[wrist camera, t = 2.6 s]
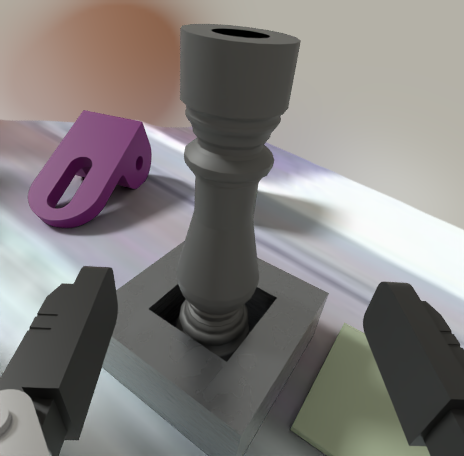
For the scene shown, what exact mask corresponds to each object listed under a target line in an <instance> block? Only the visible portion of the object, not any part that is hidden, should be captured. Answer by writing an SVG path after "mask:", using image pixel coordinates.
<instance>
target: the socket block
mask: <svg viewBox="0 0 464 456" xmlns="http://www.w3.org/2000/svg"><path fill="white" fill-rule="evenodd" d="M184 242H185V241H184ZM184 242H183V243H181V244H180V245H178V246H177V247H176V248H174V249H173V250H172V251H170V252H169V253H167V254H166V255H165V256H163V257H162V258H160V259H159V260H158V261H156V262H155V263H154V264H152V265H151V266H149V267H148V268H147V269H145V270H144V271H143V272H141V273H140V274H138V275H137V276H136V277H134V278H133V279H132V280H130V281H129V282H127V283H126V284H125V285H123V286H122V287H121V288H119V289H118V290H116V294H117V300H118V315H117V321H116V325H115V328H114V331H113V334H112V337H111V340H110V343H109V347H108V350H107V353H106V356H105V359H104V362H103V365H102V368H104V369H105V370H106V371H107V372H108V373H110V374H111V375H112V376H113V377H115V378H116V379H117V380H118V381H119V382H121V383H122V384H123V385H124V386H125V387H127V388H128V389H129V390H130V391H131V392H133V393H134V394H135V395H136V396H137V397H139V398H140V399H141V400H142V401H143V402H145V403H146V404H147V405H148V406H149V407H151V408H152V409H153V410H154V411H155V412H157V413H158V414H159V415H160V416H161V417H163V418H164V419H165V420H166V421H168V422H169V423H170V424H171V425H172V426H174V427H175V428H176V429H177V430H178V431H180V432H181V433H182V434H183V435H184V436H186V437H187V438H188V439H189V440H190V441H192V442H193V443H194V444H195V445H196V446H198V447H199V448H200V449H201V450H202V451H204V452H205V453H206V454H207V455H208V456H243V455H244V453H245V451H246V450H247V448H248V446H249V444H250V443H251V441H252V439H253V438H254V436H255V434H256V432H257V431H258V429H259V427H260V426H261V424H262V422H263V420H264V419H265V417H266V415H267V414H268V412H269V410H270V408H271V407H272V405H273V403H274V402H275V400H276V398H277V396H278V395H279V393H280V391H281V390H282V388H283V386H284V384H285V383H286V381H287V379H288V378H289V376H290V374H291V373H292V371H293V369H294V367H295V366H296V364H297V362H298V361H299V359H300V357H301V355H302V354H303V352H304V350H305V349H306V347H307V345H308V343H309V342H310V340H311V338H312V337H313V334H314V331H315V329H316V326H317V323H318V321H319V318H320V315H321V313H322V310H323V307H324V305H325V302H326V299H327V297H328V294H329V293H327V292H325V291H323V290H321V289H319V288H317V287H315V286H313V285H311V284H309V283H307V282H305V281H303V280H301V279H299V278H297V277H295V276H293V275H291V274H289V273H287V272H285V271H283V270H281V269H279V268H277V267H275V266H273V265H271V264H269V263H267V262H265V261H263V260H261V259H259V258H257V261H258V269H259V282H258V285H257V287H256V289H255V292H254V294H253V295H252V297H251V299H249V300H248V301H247V302H246V303H245V306H246V307H247V310H248V325H249V331H250V333H249V335H248V336H247V337H246V338H245V340H244V341H243V342H242V343H241V345H240V346H239V347H238V349H237V350H236V351H235V352H234V354H233V355H232V356H231V357H230V359H229V360H228V361H227V362H226V361H225V360H223V359H222V358H220V357H219V356H217V355H216V354H214V353H213V352H211V351H210V350H208V349H207V348H205V347H204V346H202V345H201V344H199V343H198V342H196V341H195V340H193V339H192V338H190V337H189V336H187V335H186V334H184V333H183V332H181V331H180V330H178V329H177V320H178V317H179V315H180V308H181V305H182V304H183V302H184V301H185V299H186V298H185V297H184V296H183V294H182V292H181V289H180V287H179V285H178V282H177V267H178V261H179V258H180V255H181V252H182V249H183V246H184Z"/></svg>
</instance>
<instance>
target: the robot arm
mask: <svg viewBox="0 0 464 456" xmlns="http://www.w3.org/2000/svg"><path fill="white" fill-rule="evenodd" d="M37 314H38V315H37V317H35V319H34V320H33V322H32V324H31V326H30V329H29V331H27V333H26V334H25V336H24V338H23V340H22V341H21V343H20V345H19V347H18V348H17V350H16V352H15V354H14V355H13V357H12V359H11V361H10V363H9V364H8V366H7V368H6V370H5V371H4V373H3V375H2V377H1V378H0V456H59V453H60V450H61V447H62V445H63V442H64V440H79V437H80V434H81V431H82V428H83V424H84V421H85V418H86V415H87V412H88V409H89V406H90V403H91V400H92V396H93V393H94V390H95V387H96V384H97V381H98V378H99V375H100V371H101V368H102V365H103V362H104V359H105V356H106V353H107V350H108V347H109V343H110V340H111V337H112V334H113V331H114V328H115V325H116V321H117V315H118V300H117V294H116V287H115V281H114V274H113V270H112V268H109V267H91V266H84V267H82V269H81V270H80V272H79V274H78V276H77V278H76V280H75V282H74V284H61V285H60V286H59V287H58V288H57V289H55V290H54V291H53V292H52V293H51V294H50V295H48V296H47V297H46V299H45V301H44V303H43V304H42V306H41V308H40V310H39V311H38V313H37ZM363 328H364V333H365V336H366V338H367V341H368V343H369V346H370V348H371V351H372V354H373V356H374V359H375V361H376V364H377V366H378V369H379V371H380V374H381V376H382V379H383V381H384V384H385V386H386V389H387V391H388V394H389V396H390V399H391V401H392V404H393V406H394V409H395V411H396V414H397V416H398V419H399V422H400V424H401V427H402V429H403V432H404V434H405V437H406V439H407V442H408V444H409V446H426V447H427V449H428V451H429V454H430V456H464V349H463V348H461V347H460V343H459V342H458V340H457V339H456V337H455V336H454V334H452V333H451V332H452V331H451V329H450V328H449V326H448V325H447V323H446V322H445V320H444V319H443V317H442V316H441V315H440V314H439V313H438V312H437V311H436V310H435V309H434V308H433V307H432V306H431V305H429V304H428V303H427V302H426V301H421V300H420V298H419V297H418V295H417V293H416V292H415V290H414V289H413V287H412V286H411V285H410V284H408V283H398V282H381V283H380V284H379V285H378V287H377V289H376V291H375V293H374V295H373V298H372V300H371V302H370V304H369V306H368V308H367V310H366V312H365V315H364V319H363Z"/></svg>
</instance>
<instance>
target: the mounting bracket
mask: <svg viewBox="0 0 464 456" xmlns="http://www.w3.org/2000/svg"><path fill="white" fill-rule="evenodd" d="M150 166H151V147H150V143H149V140H148V138H147V135H146V132H145V129H144V126H143V123H142V122H141V121H135V120H130V119H125V118H120V117H115V116H110V115H105V114H100V113H95V112H90V111H85V110H84V111H83V112H82V113H81V115H80V116H79V117H78V119H77V120H76V122H75V123H74V125H73V126H72V127H71V129H70V130H69V132H68V133H67V134H66V136H65V137H64V139H63V140H62V142H61V143H60V144H59V146H58V147H57V149H56V150H55V152H54V153H53V154H52V156H51V157H50V159H49V160H48V161H47V163H46V164H45V166H44V167H43V169H42V170H41V171H40V173H39V174H38V176H37V177H36V178H35V180H34V181H33V183H32V185H31V187H30V189H29V193H28V202H29V206H30V208H31V209H32V211H33V212H34V213H35V214H36V215H37V216H38V217H39V218H40V219H41V220H42V221H43V222H45V223H46V224H48V225H51V226H54V227H59V228H74V227H77V226H80V225H83V224H85V223H87V222H89V221H90V220H92V219H93V218H94V217H96V216H97V215H98V214H99V213H100V212H101V210H102V209H103V208H104V206H105V204H106V203H107V201H108V199H109V197H110V195H111V194H112V192H113V190H114V188H115V186H116V185H120V186H124V187H128V188H132V189H137V188H138V187H139V186H140V185H141V184H142V183H143V182H145V180H146V178H147V176H148V173H149V170H150ZM75 175H77V176H81V177H85V179H84V180H83V182H82V184H81V185H80V187H79V189H78V190H77V192H76V193H75V195H74V197H73V198H72V200H71V201H70V203H69V204H68V205H66V206H65V207H62V208H59V209H55V206H56V204H57V203H58V201H59V200H60V198H61V196H62V195H63V193H64V192H65V190H66V189H67V187H68V186H69V184H70V182H71V181H72V179H73V178H74V176H75Z"/></svg>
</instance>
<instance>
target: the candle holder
mask: <svg viewBox="0 0 464 456" xmlns="http://www.w3.org/2000/svg"><path fill="white" fill-rule="evenodd" d="M180 40H181V41H180V44H181V45H180V46H181V48H180V49H181V50H180V51H181V52H180V53H181V54H180V60H181V61H180V100H182V101H183V102H184V103H185V104H186V117H187V118H188V120H189V121H190V122H191V124H192V128H193V132H194V134H195V135H196V136H197V138H196V139H194V140H193V141H192V142H190V143H189V144H188V145H187V146H186V147H185V152H184V160H185V163H186V164H187V166H188V167H189V168H190V170H191V171H193V173H194V174H195V176H196V179H195V208H194V213H193V217H192V220H191V223H190V226H189V230H188V233H187V236H186V239H185V242H184V246H183V249H182V252H181V255H180V258H179V261H178V267H177V282H178V285H179V287H180V289H181V292H182V294H183V296H184V297H185V298H186V299H185V301H184V302H183V304H182V305H181V308H180V315H179V317H178V320H177V329H178V330H180V331H181V332H183V333H184V334H186V335H187V336H189V337H190V338H192V339H193V340H195V341H196V342H198V343H199V344H201V345H202V346H204V347H205V348H207V349H208V350H210V351H211V352H213V353H214V354H216V355H217V356H219V357H220V358H222V359H223V360H225V361H226V362H227V361H228V360H229V359H230V357H231V356H232V355H233V354H234V352H235V351H236V350H237V349H238V347H239V346H240V345H241V343H242V342H243V341H244V340H245V338H246V337H247V336H248V335H249V325H248V310H247V307H246V306H245V303H246V302H247V301H248V300H249V299H251V297H252V295H253V294H254V292H255V289H256V287H257V285H258V282H259V269H258V261H257V252H256V243H255V234H254V225H253V214H254V208H255V202H256V195H257V189H258V183H259V181H260V180H261V178H263V177H265V176H267V174H268V173H269V171H270V170H271V168H272V167H273V163H274V158H273V155H272V152H271V151H270V150H269V149H268V148H267V147H266V146H265V145H264V144H265V142H266V141H267V140H268V139H269V137H270V135H271V133H272V132H273V131H274V129H275V128H276V127H277V126H278V124H279V123H280V120H281V118H280V116H281V115H282V114H284V112H285V111H286V110H287V109H288V105H289V100H290V95H291V89H292V84H293V79H294V74H295V68H296V63H297V57H298V52H299V47H300V40H299V39H298V38H296V37H293V36H290V35H287V34H283V33H279V32H274V31H269V30H263V29H256V28H249V27H240V26H231V25H215V24H191V25H184V26H182V27H181V36H180Z"/></svg>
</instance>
